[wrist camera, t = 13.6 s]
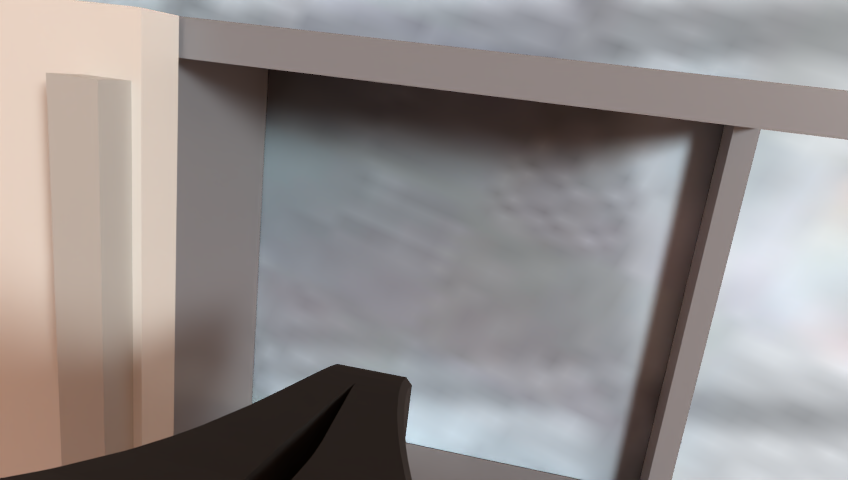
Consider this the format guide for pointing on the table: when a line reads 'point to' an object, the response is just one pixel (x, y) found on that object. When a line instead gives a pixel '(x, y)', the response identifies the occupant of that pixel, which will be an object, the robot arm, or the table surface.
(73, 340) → the lid
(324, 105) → the table surface
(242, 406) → the box
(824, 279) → the table surface
